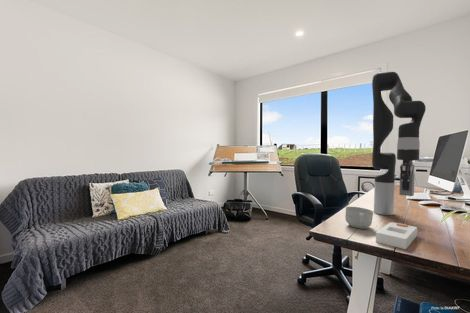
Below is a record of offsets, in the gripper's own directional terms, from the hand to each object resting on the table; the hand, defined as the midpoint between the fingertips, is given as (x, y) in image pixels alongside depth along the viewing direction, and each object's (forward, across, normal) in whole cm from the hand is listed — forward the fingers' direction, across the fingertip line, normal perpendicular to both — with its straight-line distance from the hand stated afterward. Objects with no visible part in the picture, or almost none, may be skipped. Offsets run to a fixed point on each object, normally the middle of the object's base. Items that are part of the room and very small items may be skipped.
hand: (406, 189), depth 99 cm
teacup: (+18, +10, -15) cm, 25 cm away
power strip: (+18, +13, 0) cm, 22 cm away
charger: (+2, 0, 0) cm, 2 cm away
